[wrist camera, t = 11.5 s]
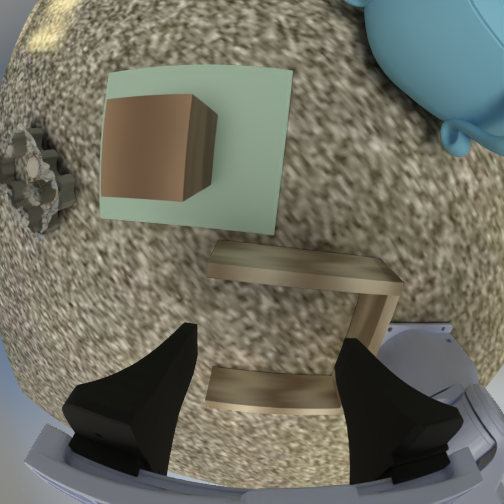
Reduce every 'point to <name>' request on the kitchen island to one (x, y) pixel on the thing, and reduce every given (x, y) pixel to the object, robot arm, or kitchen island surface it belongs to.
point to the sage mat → (218, 145)
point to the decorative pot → (445, 63)
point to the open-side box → (311, 277)
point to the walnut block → (157, 147)
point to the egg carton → (34, 183)
